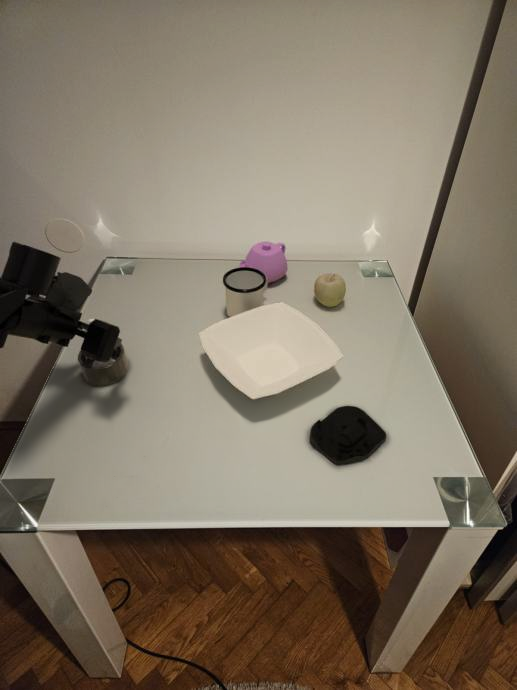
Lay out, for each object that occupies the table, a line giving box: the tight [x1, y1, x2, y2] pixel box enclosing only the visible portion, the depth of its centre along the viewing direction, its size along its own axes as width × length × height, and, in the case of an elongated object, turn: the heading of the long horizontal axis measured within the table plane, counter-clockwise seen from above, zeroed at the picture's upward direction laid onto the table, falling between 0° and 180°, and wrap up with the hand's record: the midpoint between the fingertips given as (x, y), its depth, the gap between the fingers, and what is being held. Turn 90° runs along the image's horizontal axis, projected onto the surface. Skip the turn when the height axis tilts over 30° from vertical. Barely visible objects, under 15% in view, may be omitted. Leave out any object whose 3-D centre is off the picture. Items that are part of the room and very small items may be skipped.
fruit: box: [313, 273, 347, 308], centre depth 100 cm, size 8×7×8 cm
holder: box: [77, 343, 129, 387], centre depth 83 cm, size 8×8×4 cm
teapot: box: [239, 241, 288, 286], centre depth 107 cm, size 10×15×9 cm
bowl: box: [198, 301, 344, 400], centre depth 85 cm, size 22×23×6 cm
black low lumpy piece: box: [309, 405, 387, 466], centre depth 72 cm, size 12×10×5 cm
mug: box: [222, 266, 268, 318], centre depth 97 cm, size 12×10×9 cm
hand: (101, 334), depth 80 cm, fingers open, 9 cm apart
